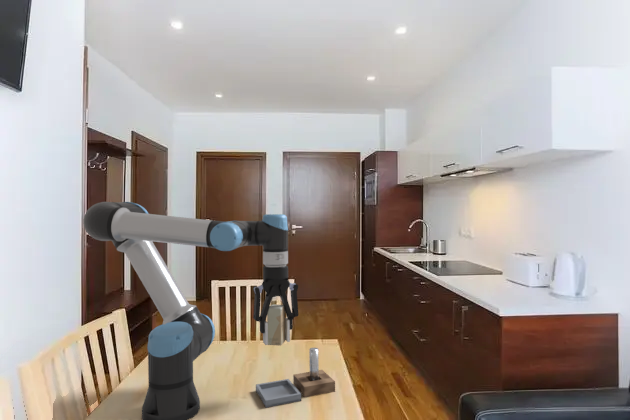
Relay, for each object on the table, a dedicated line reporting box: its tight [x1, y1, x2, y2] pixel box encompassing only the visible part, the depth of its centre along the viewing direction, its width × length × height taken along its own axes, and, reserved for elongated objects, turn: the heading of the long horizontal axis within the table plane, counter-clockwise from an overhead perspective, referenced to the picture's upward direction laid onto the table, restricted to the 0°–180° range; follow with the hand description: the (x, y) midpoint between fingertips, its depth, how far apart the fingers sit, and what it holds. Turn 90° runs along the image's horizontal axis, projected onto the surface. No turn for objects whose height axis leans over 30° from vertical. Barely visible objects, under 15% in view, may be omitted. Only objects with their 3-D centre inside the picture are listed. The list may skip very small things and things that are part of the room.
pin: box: [308, 347, 320, 381], centre depth 128 cm, size 3×3×12 cm
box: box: [266, 304, 286, 347], centre depth 123 cm, size 5×4×11 cm
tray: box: [255, 378, 302, 408], centre depth 122 cm, size 11×12×2 cm
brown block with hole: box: [292, 369, 336, 398], centre depth 128 cm, size 10×10×3 cm
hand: (276, 341), depth 123 cm, fingers closed on box, 6 cm apart
